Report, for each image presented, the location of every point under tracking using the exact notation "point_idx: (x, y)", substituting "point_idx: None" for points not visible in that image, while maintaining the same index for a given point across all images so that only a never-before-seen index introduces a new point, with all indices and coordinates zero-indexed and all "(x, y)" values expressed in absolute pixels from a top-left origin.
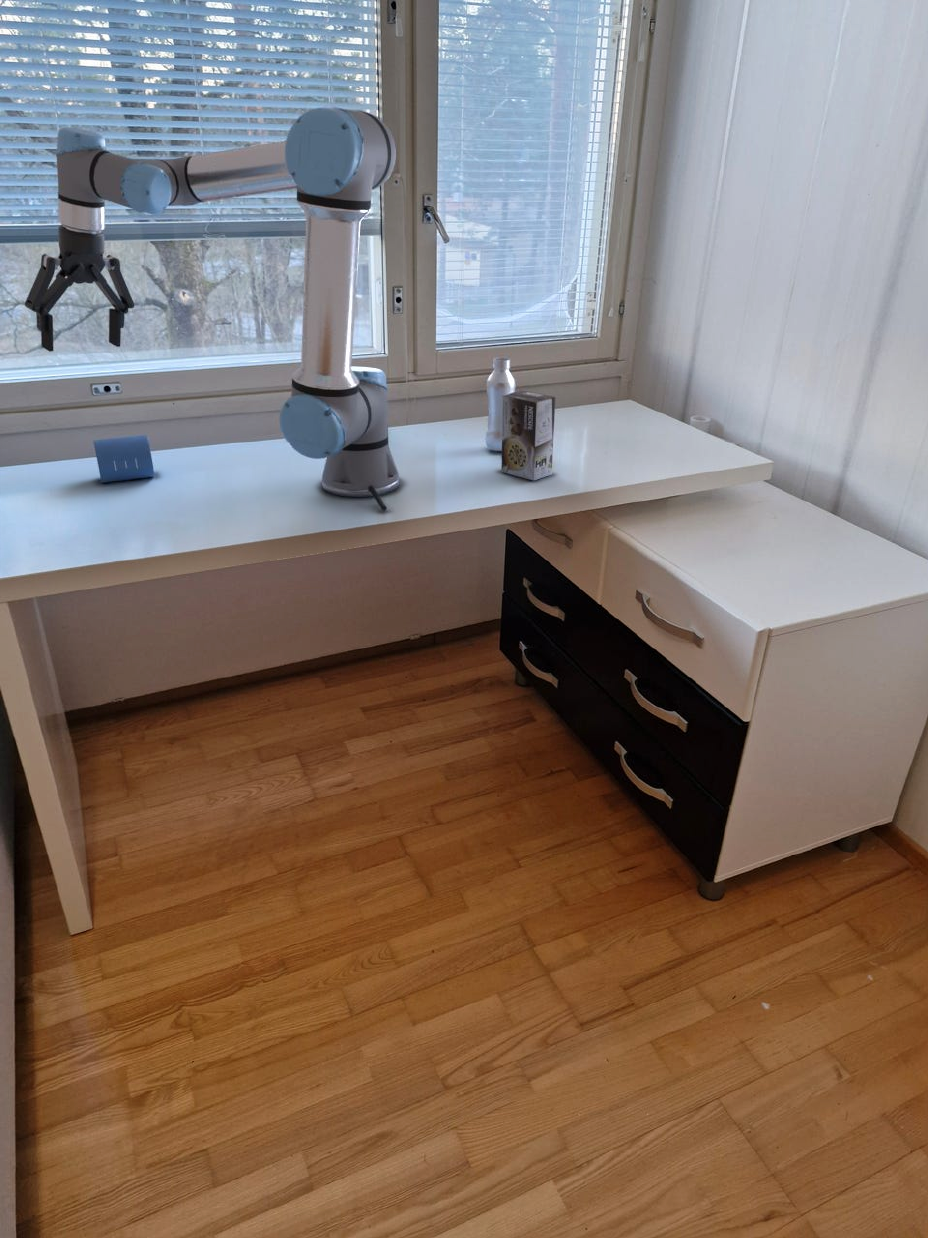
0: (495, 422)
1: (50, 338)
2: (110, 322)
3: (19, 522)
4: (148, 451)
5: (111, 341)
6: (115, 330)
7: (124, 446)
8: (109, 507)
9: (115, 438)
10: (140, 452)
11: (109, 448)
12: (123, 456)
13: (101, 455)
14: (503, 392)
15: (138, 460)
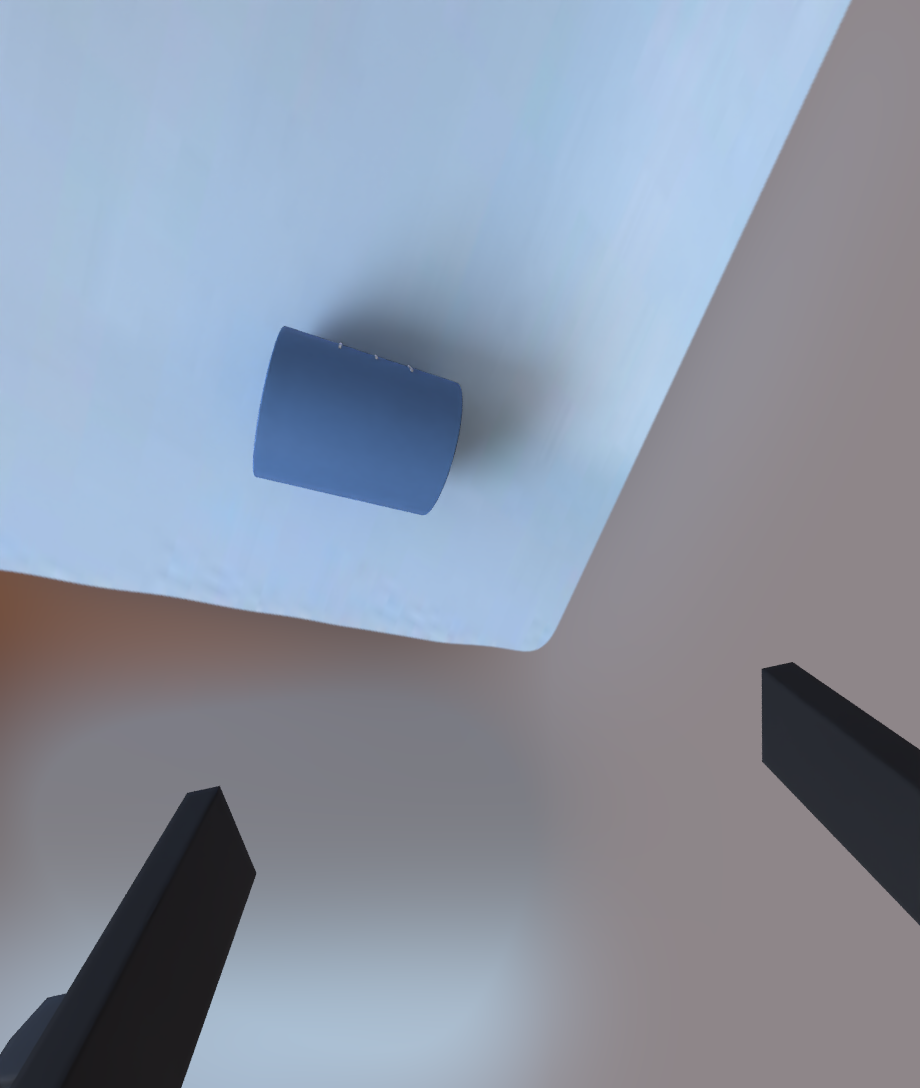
0: None
1: (877, 728)
2: (167, 1081)
3: (721, 233)
4: (284, 340)
5: (238, 862)
6: (160, 944)
7: (363, 391)
8: (502, 162)
9: (375, 455)
10: (315, 350)
11: (416, 403)
12: (378, 367)
13: (447, 395)
14: None
15: (331, 343)
